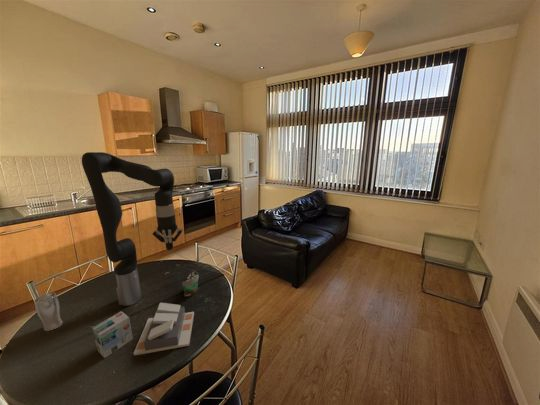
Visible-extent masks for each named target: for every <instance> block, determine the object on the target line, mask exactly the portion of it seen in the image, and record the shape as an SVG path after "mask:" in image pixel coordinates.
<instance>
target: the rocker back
mask: <svg viewBox="0 0 540 405" xmlns="http://www.w3.org/2000/svg"><path fill="white" fill-rule="evenodd" d="M180 307H182V306H181V304H176V303H175V304H174V303H167V302H159V304H158V307H157V312H163V313H173V314H179V310H180Z"/></svg>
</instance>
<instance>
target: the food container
mask: <svg viewBox="0 0 540 405" xmlns="http://www.w3.org/2000/svg"><path fill="white" fill-rule="evenodd" d="M199 277H200V276H199V273H198V272H197V271H196V270H194V269H190V272H189V274H188V275H187V276H186V278H185V279H184V281H182V283H181V284H182V285H181V286H182V287H183V294H184V298H190V297H192V296H195V295H196V294H197V293H198V290H199V284H198V282H199Z"/></svg>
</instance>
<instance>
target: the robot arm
mask: <svg viewBox="0 0 540 405" xmlns="http://www.w3.org/2000/svg"><path fill="white" fill-rule="evenodd" d="M81 165H82V168H83V172H84V174H85V177H86V179H87V181H88V185H89V186H90V189H91V193H92V196H93V199H94V204H95V208H96V213H97V216H98V220H99V222H100V225H101V229H102V233H103V240H104V246H105V252H106V255H107V257H108V260H110V262H112V263H114V264H115V263H117V264H116V266H115V267H114V275H115V279H116V280H115V281H116V284H117V286H116V288H115V290H116V296H117V300H118V305H120V306H126V307H127V306H132V305H134V304H136V303H138V302H140V300H141V299H142V291H141V290H142V289H141V285H140V283H141V282H140V278H139V272H138V266H137V264H138V258H137V248H136V245H135V242H134V241H133V240H132V239H131V238H127V237H126V238H122V239H119V240H117V231H118V228H119V225H120V223H121V221H122V217H123V209H122V205H121V202H120V199H119V198H118V196H117V195H116V194H115V192H114V191H112V190H111V189H110V188H109V187H108V185H107V184H106V182H105V180H104V175H103V174H104V173H121V174H123V175H124V176H126V177H128V178H129V179H132V180H136V181H141V182H143V183H145V184H147V185H149V186H152V187H156V188H157V187H159V188H158V190H157V191H155V193H154V201H155V202H154V203H155V216H156V222H157V227H156V230H154V231H152V235H153V236H154V237H155V238H156V239H157V240H159V242H161V243H165V244H164V245H165V249H166V250H167V251H172V249H174V242H176V241H177V239H178V238H179V237H180V235H181V234H182V233H183V230H184V229H183V228H179V227H178V225H177V221H176V211H175V206H174V200H173V193H174V192H173V191H174V185H175V184H174V183H175V177H174V173H173V171H172V170H171V169H169V168H158V169H153V168H152V167H150V166H149V165H145V164H141V163H137V162H133V161H132V162H131V161H128V160H126V159H122V158H119V157H117V156H115V155H113V154H110V153H108V152H105V151H102V152H94V151H93V152H91V151H90V152H88V151H87V152H84V153H83V154H82V157H81ZM175 232H176V234H175ZM174 234H175V235H174ZM118 262H119V263H118Z"/></svg>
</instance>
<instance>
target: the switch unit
mask: <svg viewBox="0 0 540 405" xmlns="http://www.w3.org/2000/svg"><path fill="white" fill-rule="evenodd" d="M185 310H186V309H185V306H184V305H183V306H180V310H179V314H178V318H177V322H176V324H173V328H172V330H171V331H169V332H167V333H164V334H162V335H160V336H158V337H156V338H154V339H152V340H149V339H148V336H149V334H150V331H151V329H153V328H155V327H157V326H159V325H162V324H164V323H153V319H154V317H155V314H156V313H163V312H157V310H155V313H154V315H153V317H149V318H147V321H146V323H145V326H144V328H143V330H142V332H141V335H140V337H139V340H138V342H137V344H136V347H135V349H134V352H133V356H140V355H146V354H151V353H157V352H161V351H165V350H166V351H167V350H172V349H177V348H183V347H188V346H190V343H191V337H192V328H193V323H194V316H195V311H191V312H190V311H189V312H186V311H185Z"/></svg>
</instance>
